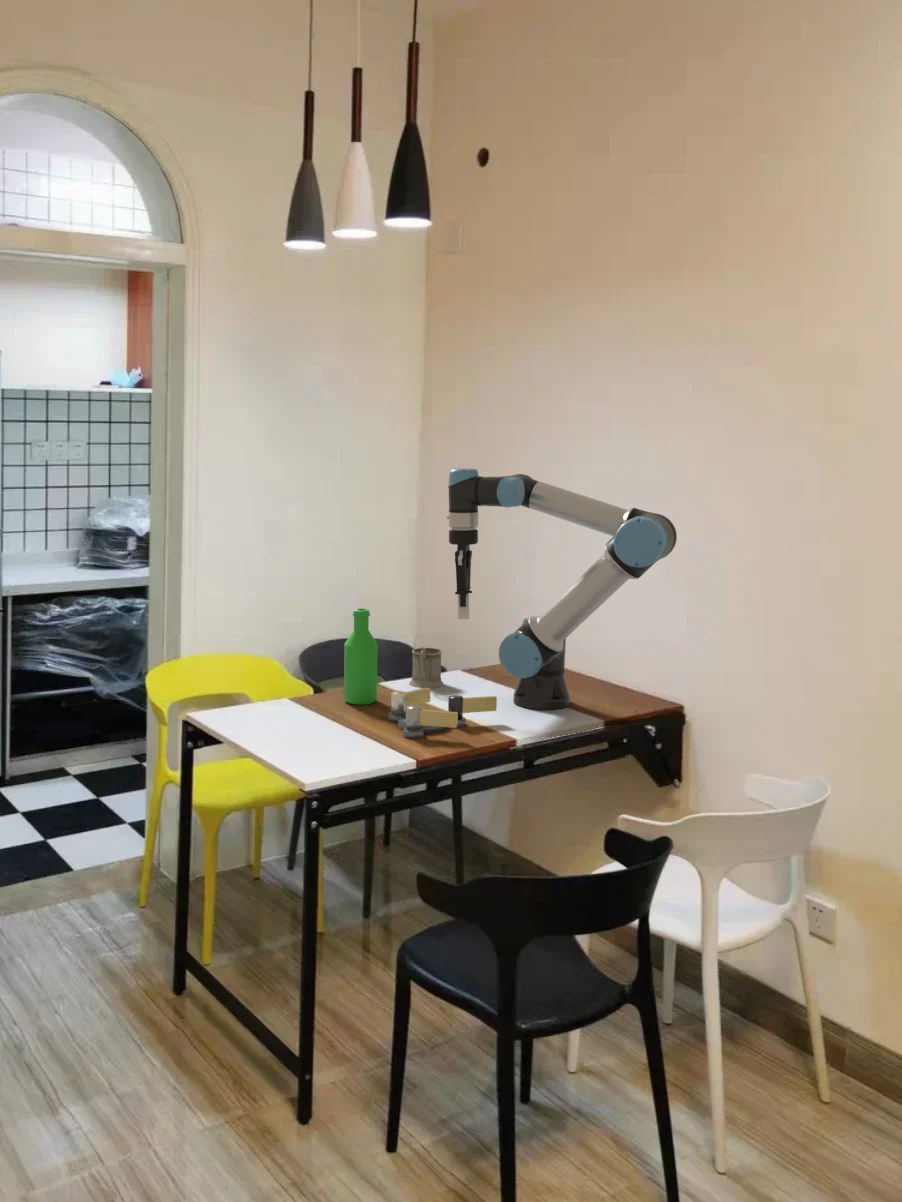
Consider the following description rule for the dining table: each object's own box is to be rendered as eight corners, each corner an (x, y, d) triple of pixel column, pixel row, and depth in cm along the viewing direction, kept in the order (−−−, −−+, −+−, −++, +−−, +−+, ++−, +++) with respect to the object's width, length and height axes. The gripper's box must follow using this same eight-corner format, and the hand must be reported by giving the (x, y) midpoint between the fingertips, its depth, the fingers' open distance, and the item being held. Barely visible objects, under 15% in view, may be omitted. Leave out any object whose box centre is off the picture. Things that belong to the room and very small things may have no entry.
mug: (412, 679, 329) (413, 638, 327) (445, 680, 328) (446, 640, 326) (403, 690, 315) (404, 648, 313) (438, 692, 314) (439, 650, 312)
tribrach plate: (467, 722, 284) (467, 713, 283) (451, 742, 267) (451, 732, 266) (391, 716, 288) (391, 707, 288) (370, 735, 271) (370, 725, 271)
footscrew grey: (404, 730, 270) (404, 708, 269) (408, 727, 273) (408, 704, 272) (455, 735, 267) (455, 712, 266) (458, 731, 270) (458, 708, 270)
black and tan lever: (450, 720, 279) (451, 699, 279) (446, 717, 283) (446, 695, 282) (497, 717, 283) (498, 696, 282) (492, 714, 287) (493, 692, 286)
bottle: (379, 698, 306) (380, 607, 302) (374, 706, 297) (375, 612, 293) (347, 696, 307) (347, 606, 303) (341, 704, 298) (341, 611, 294)
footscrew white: (397, 716, 282) (397, 695, 281) (387, 713, 285) (388, 692, 284) (433, 708, 291) (433, 687, 290) (423, 705, 294) (423, 684, 293)
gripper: (453, 526, 299) (453, 614, 303) (444, 530, 287) (445, 622, 290) (481, 526, 298) (481, 614, 302) (474, 531, 285) (474, 623, 289)
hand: (463, 618), depth 296 cm, fingers closed
